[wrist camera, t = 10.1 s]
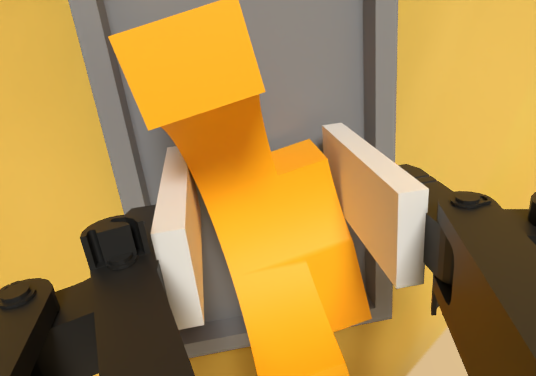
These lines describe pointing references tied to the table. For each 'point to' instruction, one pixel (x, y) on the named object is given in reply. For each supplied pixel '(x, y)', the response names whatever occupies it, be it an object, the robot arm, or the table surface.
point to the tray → (273, 112)
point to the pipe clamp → (251, 187)
